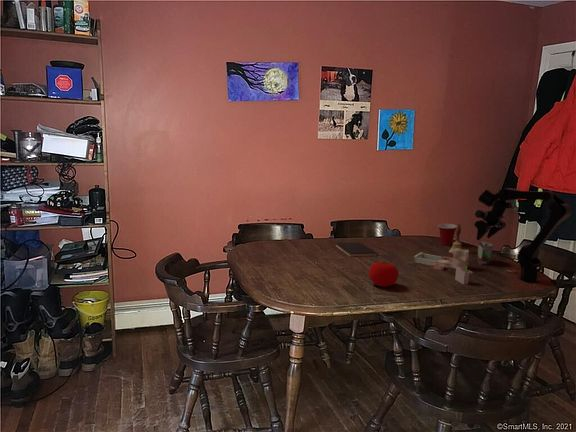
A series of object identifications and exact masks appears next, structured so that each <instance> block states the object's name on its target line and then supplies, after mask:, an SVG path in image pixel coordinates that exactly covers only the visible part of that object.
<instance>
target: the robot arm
mask: <svg viewBox="0 0 576 432" xmlns="http://www.w3.org/2000/svg"><path fill="white" fill-rule="evenodd" d="M513 200H535V201H536V200H537V201H544V202H545V203H546V206H547V207H548V209H549V210H550V212H549V214H548V219H547V221H546V223H545V224H544V225H543V226H542V228H541V229H540V230H539V232H538V233H537V234H536V236H535V237H534V238H533V240H532V241H531V242H530V244H525V245H522V247H521V249H520V250H519V251H517V260H518V262H519V266H520V268H521V269H520V276H519V277H517V279H519V280H521V281H523V282H526V283H529V284H531V283H540V280H539V279H538V275H539V268H540V267H541V266H542V264H543V263H542V261H541V260H540V259H539V258H538V257H539V256H540V251H541V248H542V247H543V246H544V244H545V243H546V241H547V240H548V239H549V238H550V237H551V235H552V234H553V233H554V231H555V230H556V229H557V228H558V226H559V225H560V224H561V223H562V222H564V221H566V219H568V218H569V217H570V216H571V215H572V214H573V207H572V205H570V203H566V201H564V199H562V198H561V197H559V196H557V195H556V193H554V192H553V191H551V190H549V191H548V190H547V191H539V190H536V191H535V190H522V189H521V190H520V189H518V188H512V187H505V188H501V189H499V191H498V192H496V193H493V192H492V191H491V190H490V189H485V190H484V191H483V192H482V193H481V194H480V195H479V196H478V202H480V203H481V204H483V205H485V206H486V207H488V208H491V207H492V208H491V210H488V211H486V210H481V209H477V210H476V211H475V213H474V215H475V218H477V219H478V218H479V219H481V220H476V221H475V222H474V224H473V226H474V227H475V228H476V229H477V233H476V240H477V241H481V239H482V238H483V237H484V236H486V238H487V239H490V238H491V237H493V236H494V235H496V234H497V233H499V232H500V231H502V230H503V229H505V227H506V226H507V223H506V222H505V221H504V220H502V219H504V214H505V212H506V210H507V209H513V205H512V202H507V201H513ZM487 233H488V234H487Z"/></svg>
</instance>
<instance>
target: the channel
mask: <svg viewBox="0 0 576 432" xmlns="http://www.w3.org/2000/svg"><path fill="white" fill-rule="evenodd" d="M442 258H443V256H441V255H435V254H434V255H433V254H428V253H424V251H421V252H419V253H417V254H416V255H414V256H413V263H417V264H422V265H427V266H432V265H433V264H435V263H436V261H437V260H438V259H442Z"/></svg>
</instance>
